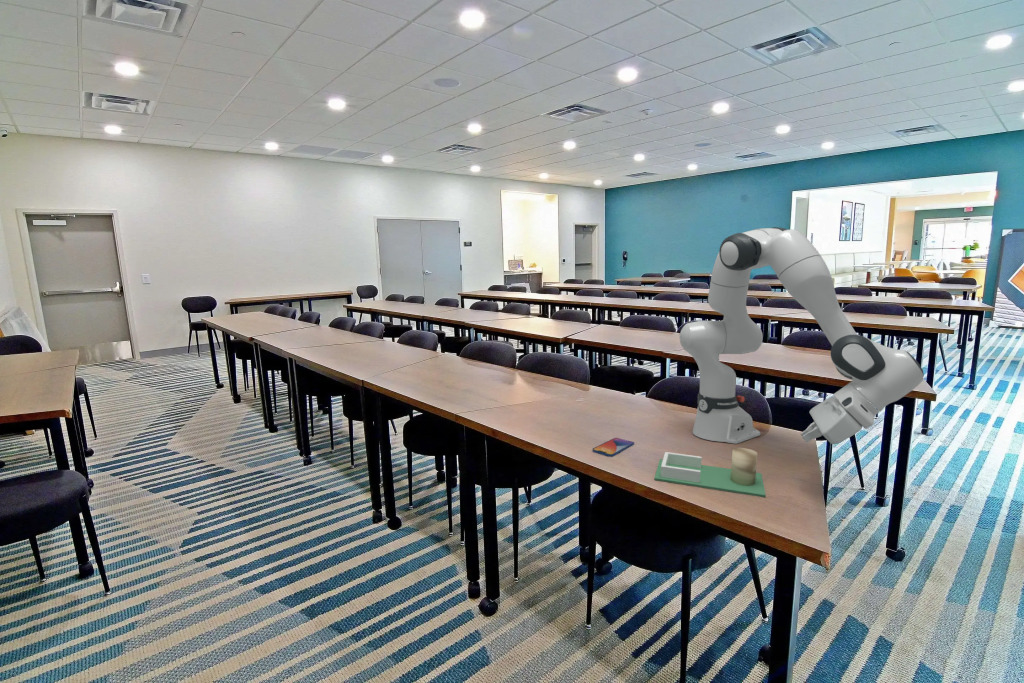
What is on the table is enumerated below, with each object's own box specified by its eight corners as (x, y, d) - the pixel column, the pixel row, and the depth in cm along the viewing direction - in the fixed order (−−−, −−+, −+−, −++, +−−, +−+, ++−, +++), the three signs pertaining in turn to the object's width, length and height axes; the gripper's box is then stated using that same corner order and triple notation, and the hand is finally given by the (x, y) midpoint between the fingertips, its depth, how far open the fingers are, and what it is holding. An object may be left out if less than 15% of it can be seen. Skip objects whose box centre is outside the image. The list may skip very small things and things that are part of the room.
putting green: (761, 475, 136) (762, 462, 136) (765, 497, 124) (766, 483, 123) (659, 460, 147) (660, 449, 146) (654, 480, 134) (654, 467, 133)
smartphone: (635, 445, 161) (635, 442, 161) (611, 458, 150) (611, 455, 150) (615, 440, 166) (615, 437, 166) (590, 452, 155) (590, 449, 154)
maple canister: (742, 474, 136) (744, 446, 134) (760, 483, 130) (762, 454, 129) (725, 478, 134) (727, 449, 132) (743, 487, 128) (745, 458, 127)
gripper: (834, 385, 129) (788, 416, 135) (853, 405, 111) (800, 441, 116) (852, 403, 128) (806, 434, 134) (875, 427, 110) (820, 462, 115)
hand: (803, 438), depth 125 cm, fingers closed
